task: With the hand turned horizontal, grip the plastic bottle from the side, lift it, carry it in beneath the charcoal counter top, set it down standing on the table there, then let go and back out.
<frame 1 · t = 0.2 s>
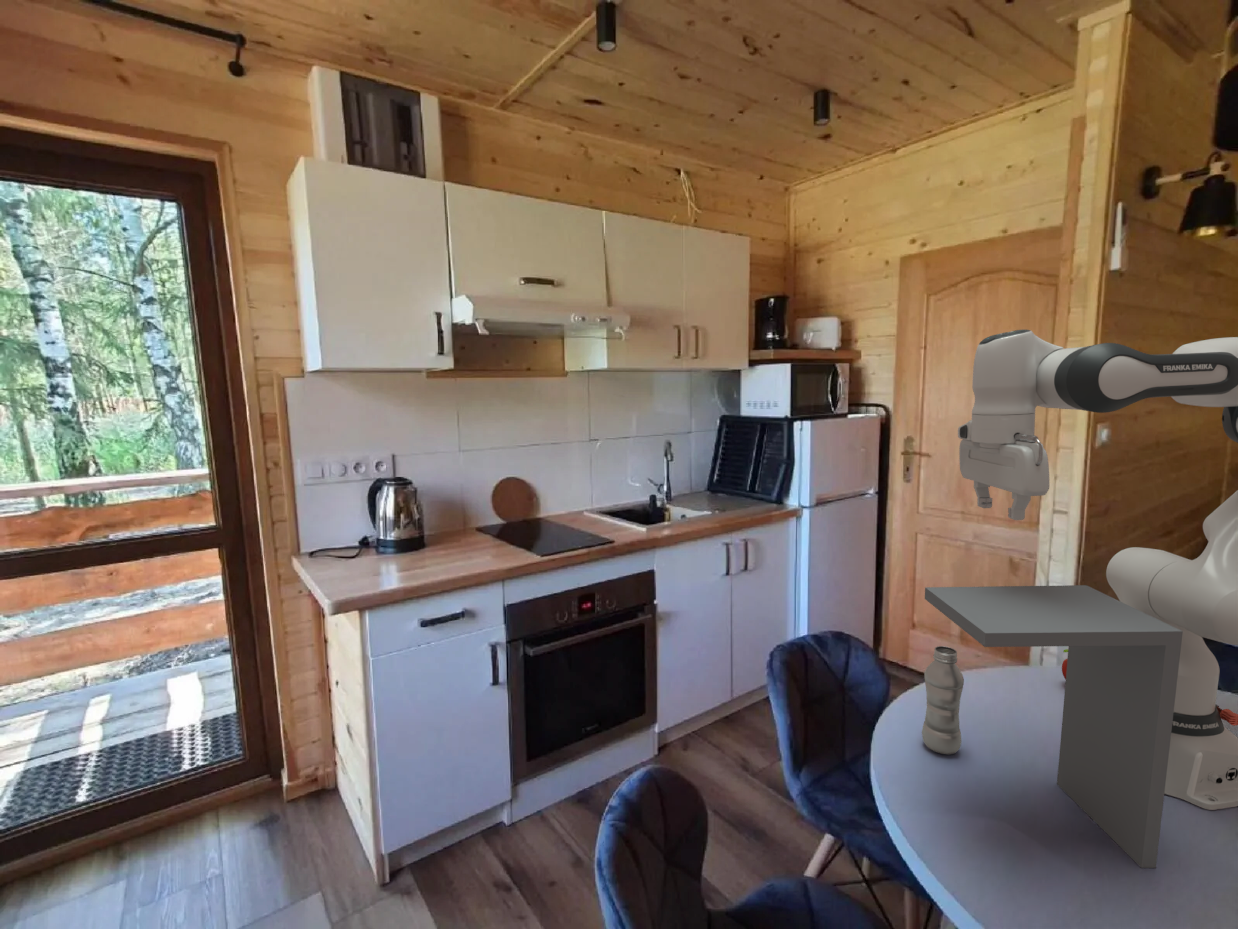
hand: (999, 513, 101), 48 cm above the table, tool pointing down, fingers open, 8 cm apart
counter: (1024, 821, 96), on the table
apple: (1078, 691, 134), on the table
plastic bottle: (940, 749, 115), on the table
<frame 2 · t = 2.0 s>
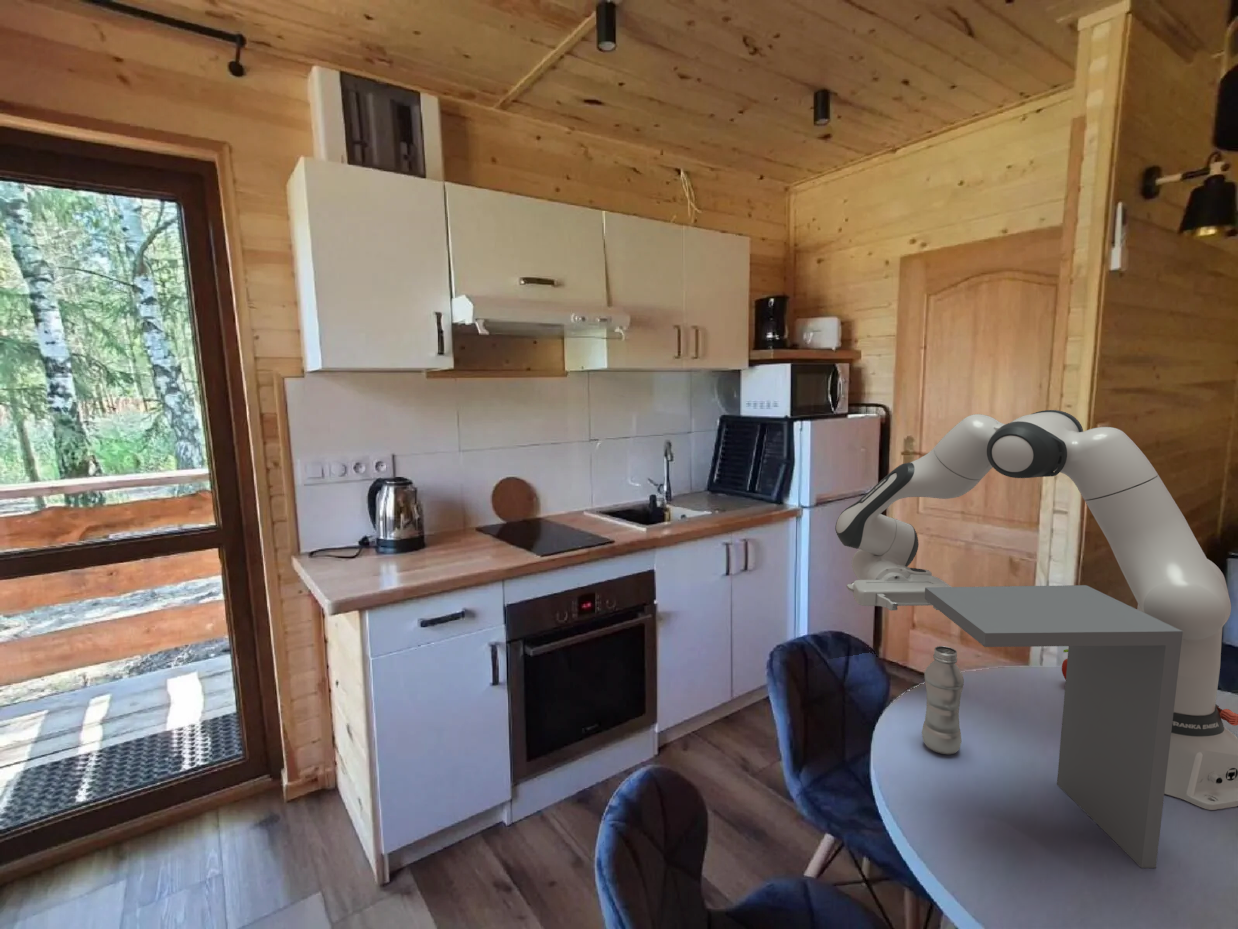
hand: (917, 606, 124), 24 cm above the table, tool horizontal, fingers open, 8 cm apart
nothing on the table moved.
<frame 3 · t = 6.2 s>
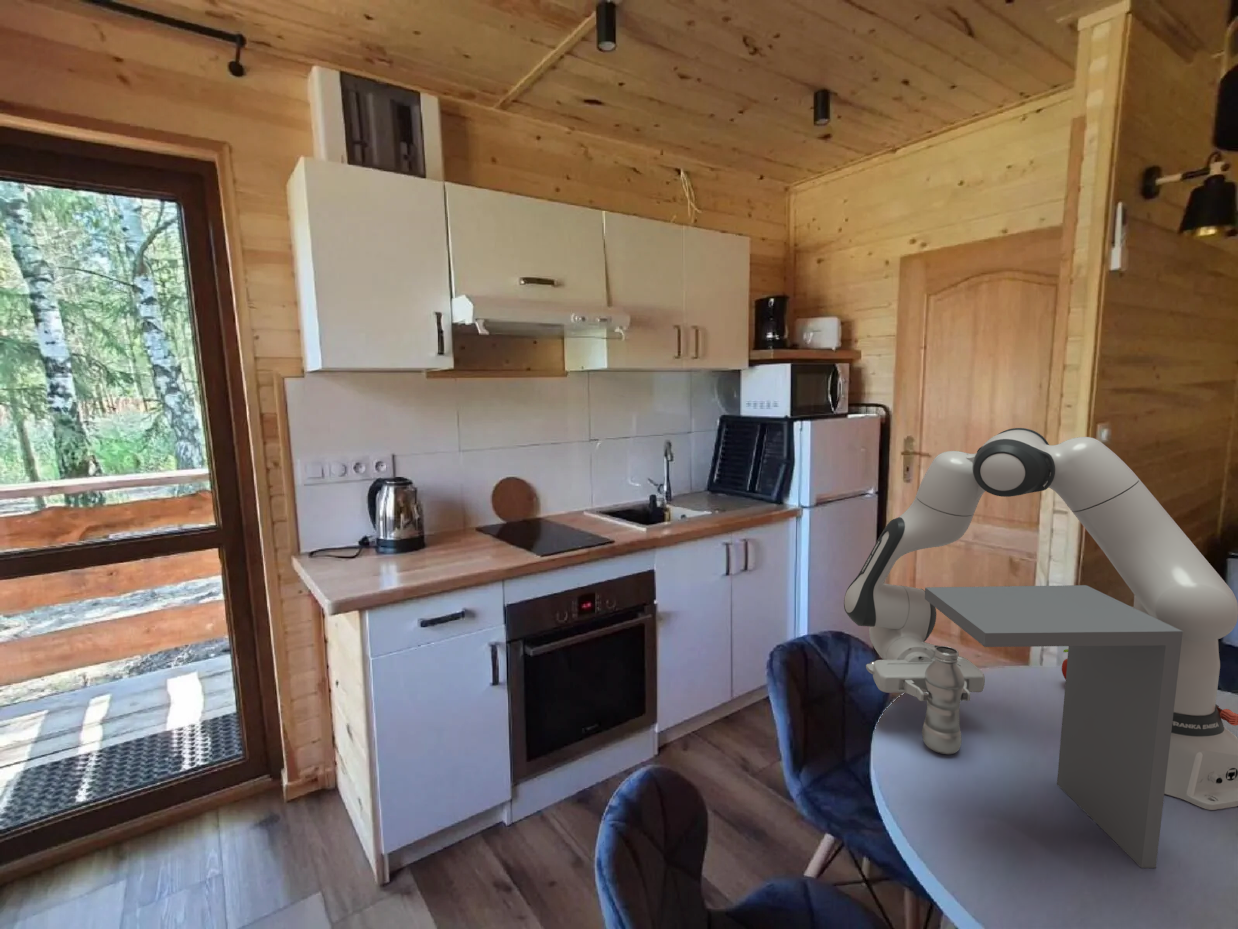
hand: (945, 697, 113), 11 cm above the table, tool horizontal, fingers closed on plastic bottle, 6 cm apart
plastic bottle: (940, 749, 115), on the table, touching gripper
everything else where it was.
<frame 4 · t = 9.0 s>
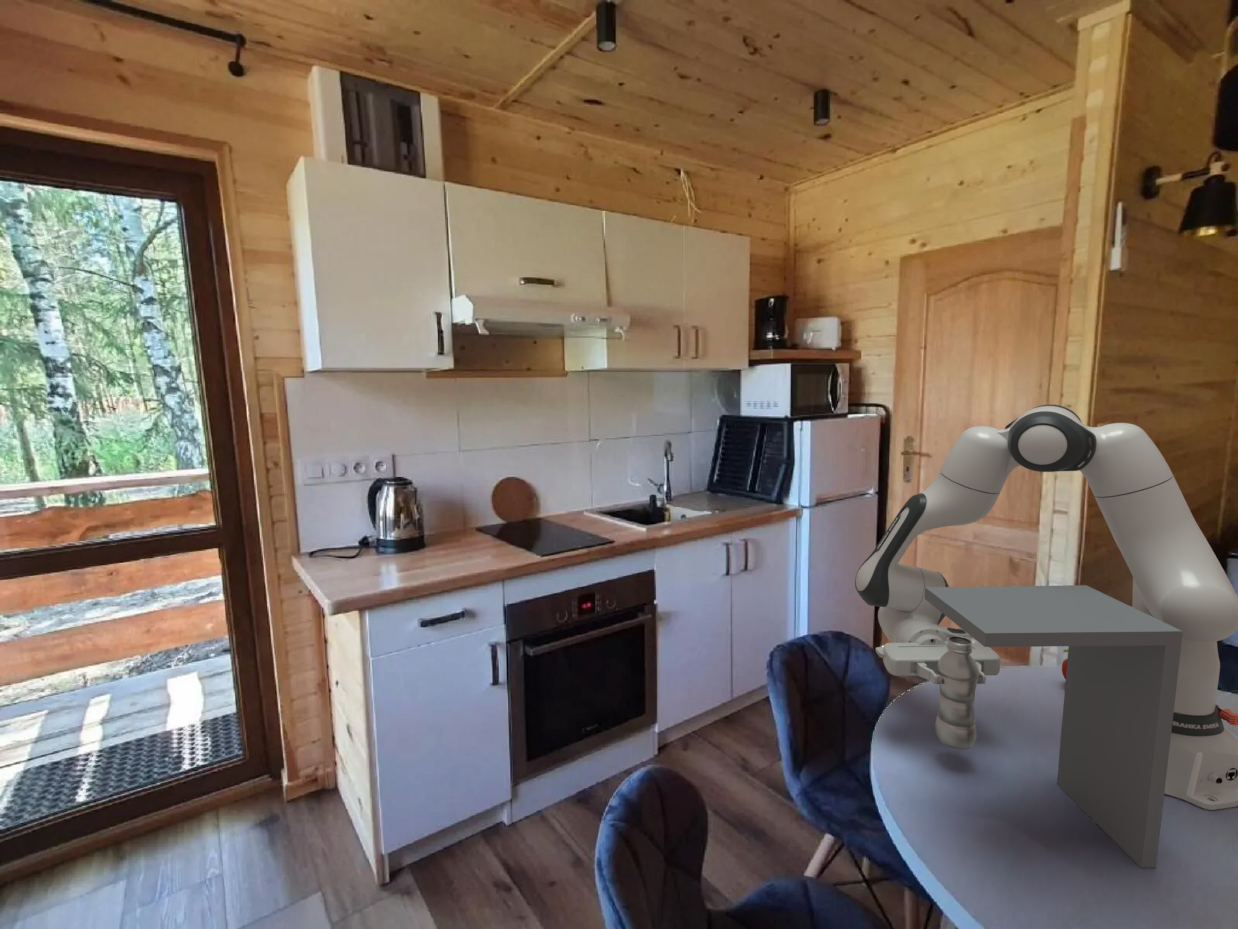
hand: (960, 680, 108), 17 cm above the table, tool horizontal, fingers closed on plastic bottle, 6 cm apart
plastic bottle: (954, 744, 110), point 4 cm above the table, touching gripper
everything else where it was.
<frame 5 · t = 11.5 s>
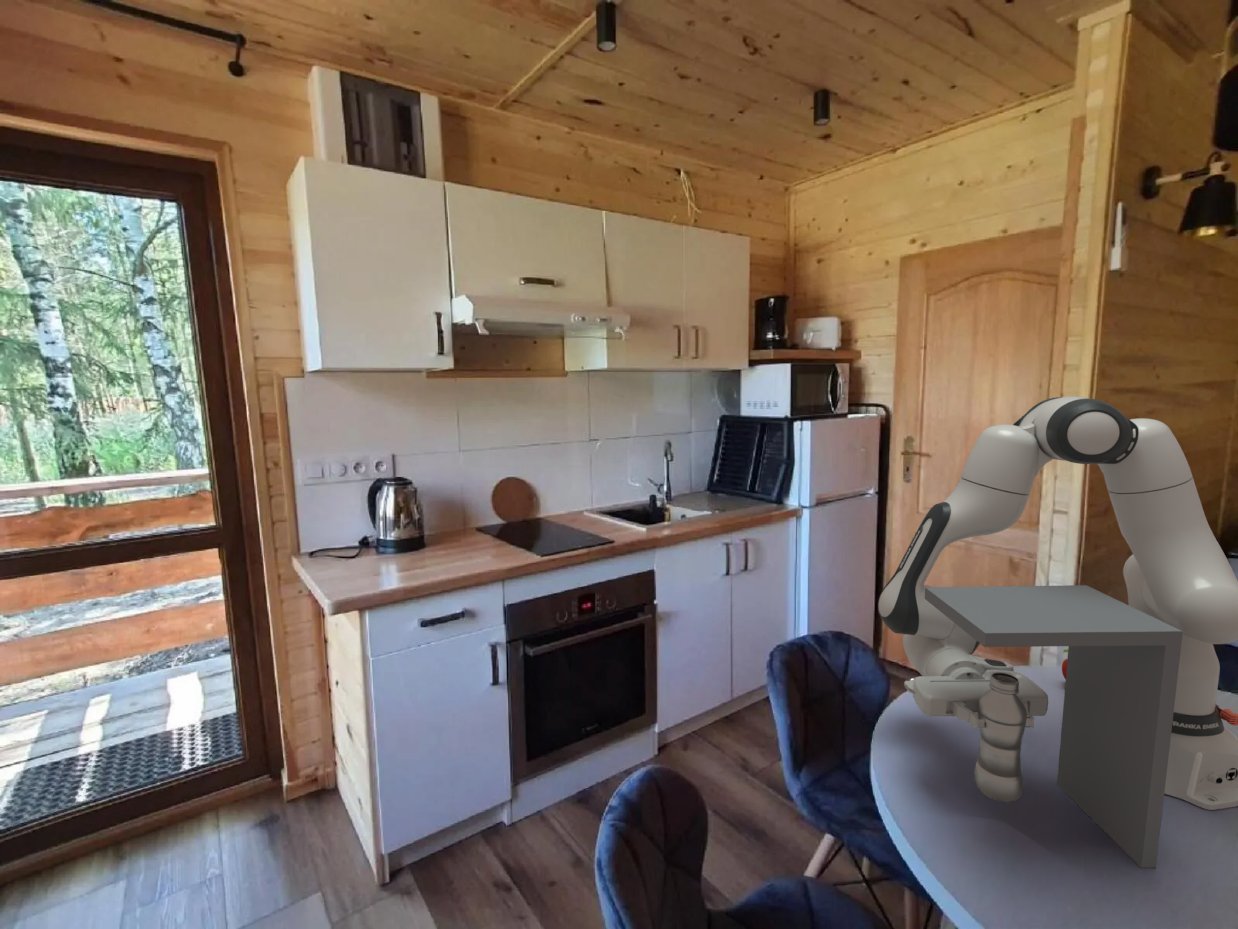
hand: (1004, 723, 94), 17 cm above the table, tool horizontal, fingers closed on plastic bottle, 6 cm apart
plastic bottle: (997, 795, 97), point 4 cm above the table, touching gripper
everything else where it was.
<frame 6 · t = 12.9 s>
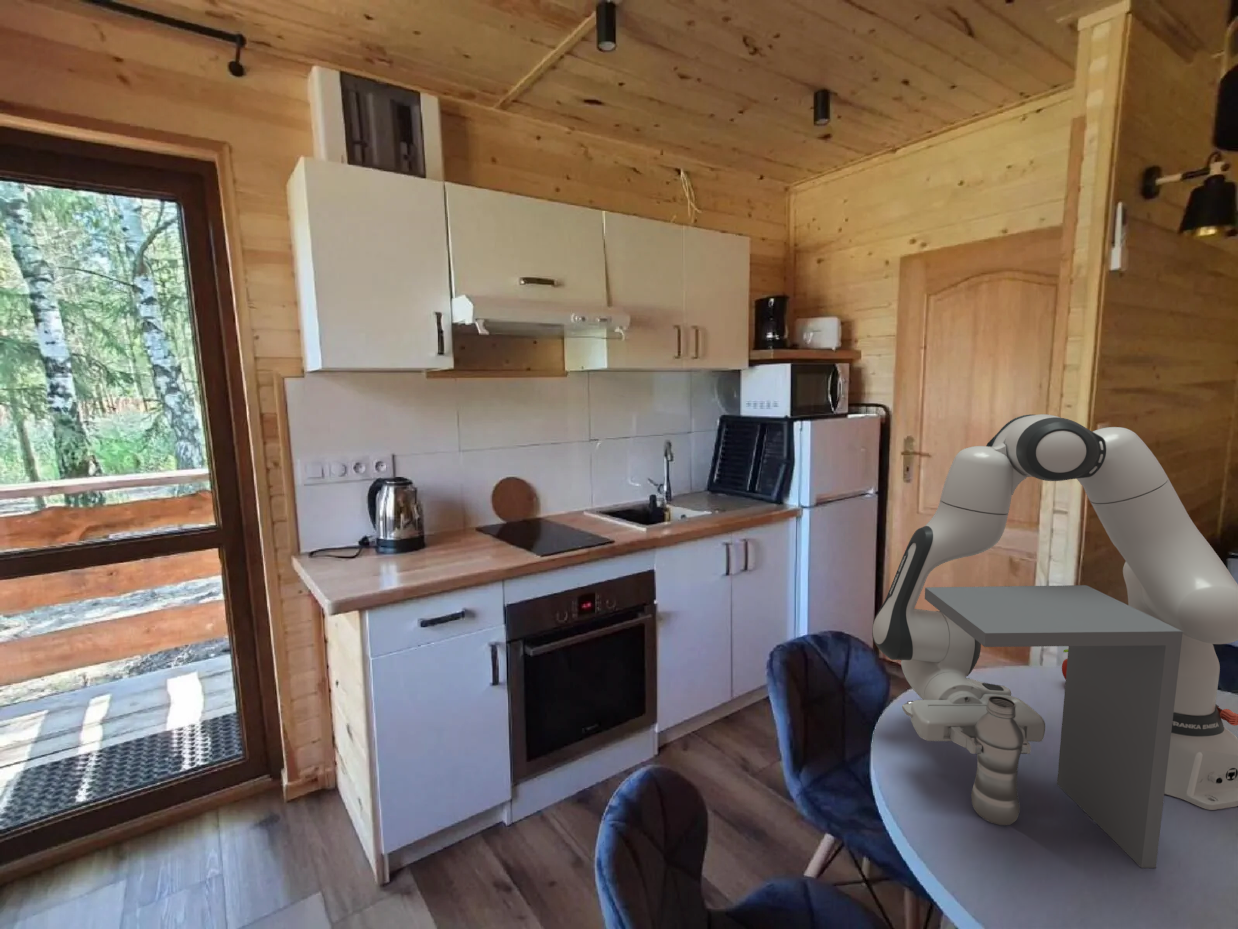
hand: (1001, 750, 95), 12 cm above the table, tool horizontal, fingers closed on plastic bottle, 6 cm apart
plastic bottle: (993, 817, 97), on the table, touching gripper
everything else where it was.
when the fingers open (12 cm above the table, at t = 13.5 s): plastic bottle stays where it is, on the table.
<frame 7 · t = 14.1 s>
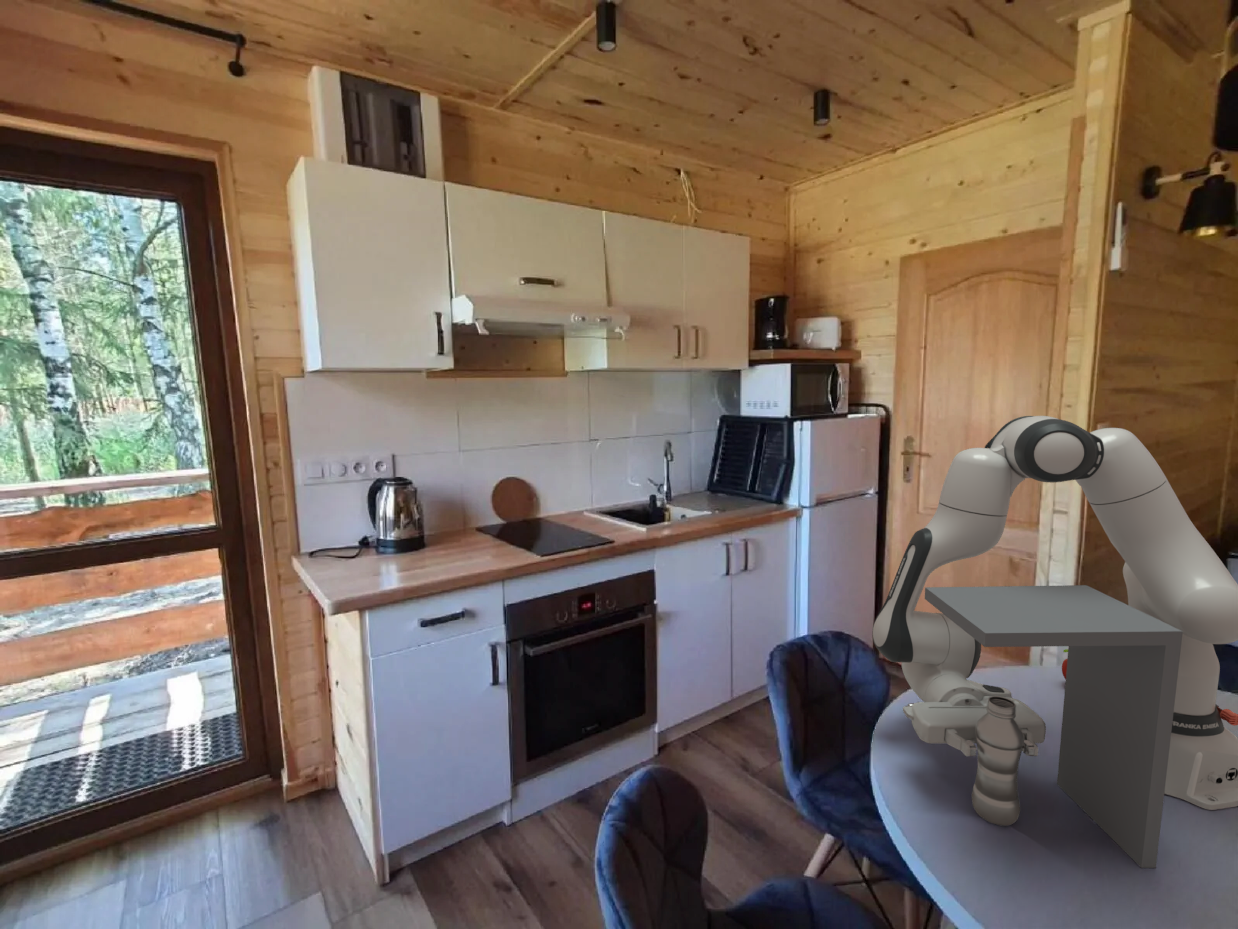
hand: (1002, 752, 95), 12 cm above the table, tool horizontal, fingers open, 8 cm apart
plastic bottle: (994, 818, 97), on the table
everything else where it was.
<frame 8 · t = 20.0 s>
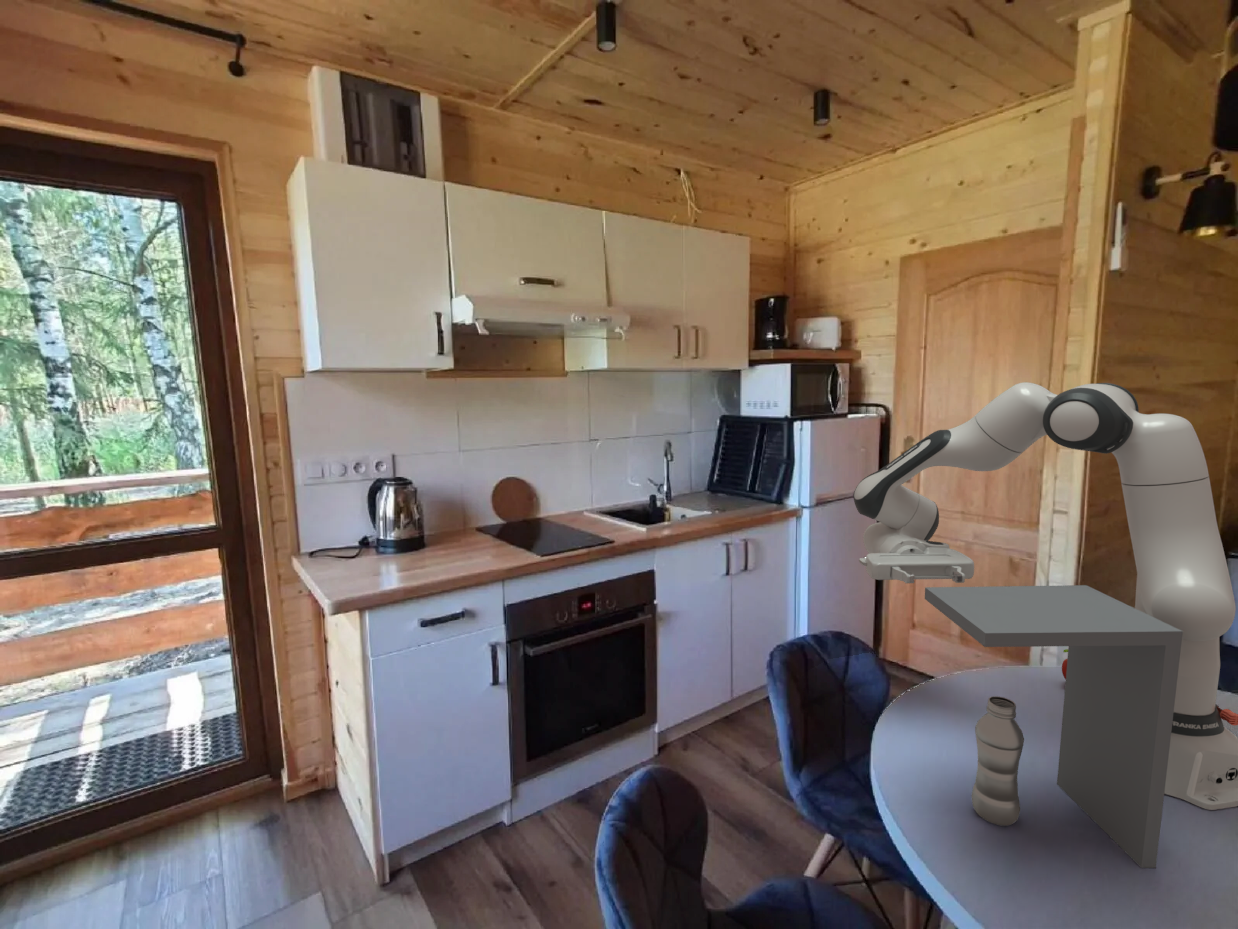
hand: (935, 579, 115), 32 cm above the table, tool horizontal, fingers open, 8 cm apart
nothing on the table moved.
at the end: plastic bottle inside the target area on the counter (2.1 cm from its centre), point 0.0 cm above the counter's base; plastic bottle tilted 0° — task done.
